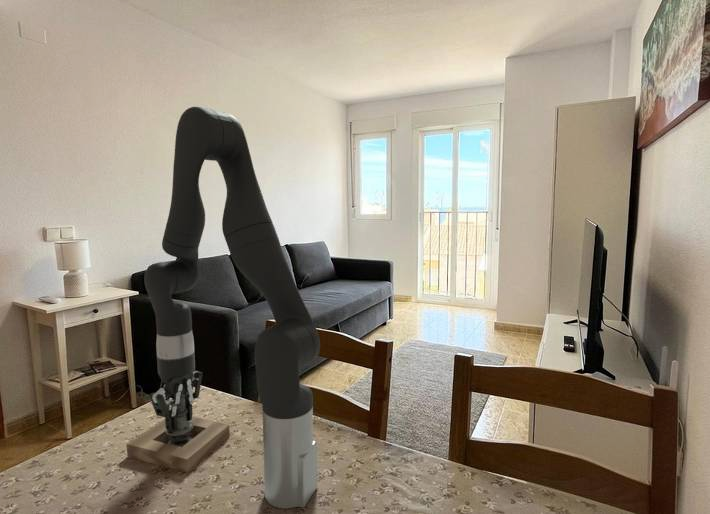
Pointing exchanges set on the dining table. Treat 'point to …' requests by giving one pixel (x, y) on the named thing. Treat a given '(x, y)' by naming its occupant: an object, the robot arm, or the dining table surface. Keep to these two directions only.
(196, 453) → the tan picture frame
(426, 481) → the dining table surface
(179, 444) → the grey tall tiered piece
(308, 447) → the robot arm
